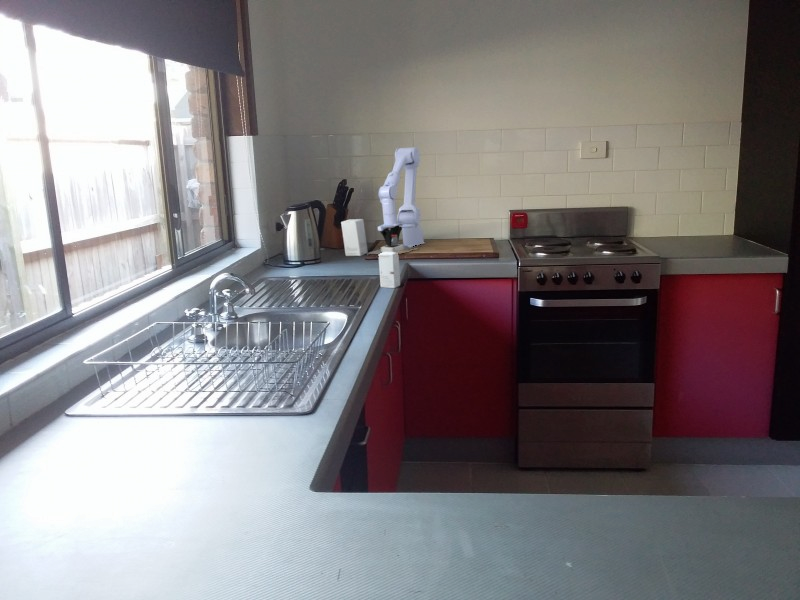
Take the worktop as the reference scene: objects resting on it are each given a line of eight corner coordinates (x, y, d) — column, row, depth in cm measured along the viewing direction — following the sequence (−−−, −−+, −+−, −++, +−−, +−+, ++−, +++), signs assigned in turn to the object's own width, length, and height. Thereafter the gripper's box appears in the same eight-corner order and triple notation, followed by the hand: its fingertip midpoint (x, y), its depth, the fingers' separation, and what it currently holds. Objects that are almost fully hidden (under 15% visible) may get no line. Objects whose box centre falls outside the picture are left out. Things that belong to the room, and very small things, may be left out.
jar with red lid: (392, 247, 308) (391, 233, 306) (400, 248, 306) (399, 234, 304) (386, 249, 305) (386, 235, 303) (394, 250, 303) (393, 235, 301)
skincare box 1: (368, 253, 311) (364, 218, 307) (359, 256, 305) (355, 221, 301) (352, 253, 315) (349, 218, 311) (344, 256, 310) (340, 221, 306)
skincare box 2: (380, 287, 246) (376, 254, 242) (386, 284, 249) (383, 251, 246) (395, 288, 242) (392, 254, 239) (401, 285, 246) (398, 251, 243)
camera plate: (394, 247, 318) (394, 240, 318) (418, 249, 309) (417, 242, 308) (367, 255, 306) (366, 248, 305) (391, 257, 296) (390, 250, 296)
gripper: (385, 216, 294) (388, 248, 297) (407, 211, 304) (410, 241, 308) (372, 216, 299) (376, 247, 302) (395, 210, 309) (398, 241, 312)
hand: (392, 244), depth 305 cm, fingers closed on jar with red lid, 4 cm apart
